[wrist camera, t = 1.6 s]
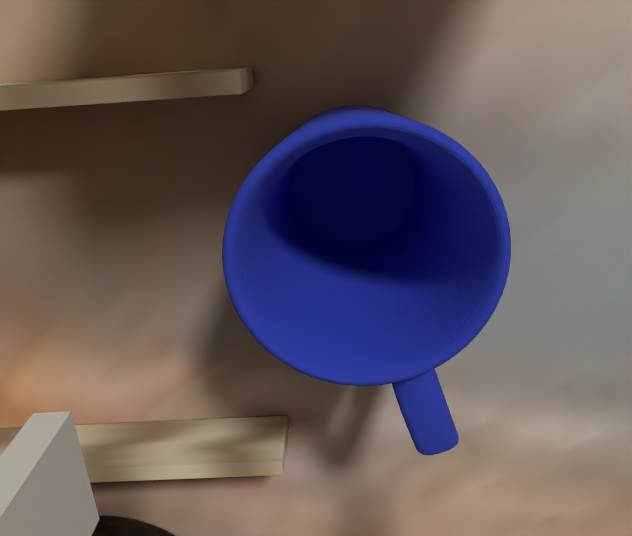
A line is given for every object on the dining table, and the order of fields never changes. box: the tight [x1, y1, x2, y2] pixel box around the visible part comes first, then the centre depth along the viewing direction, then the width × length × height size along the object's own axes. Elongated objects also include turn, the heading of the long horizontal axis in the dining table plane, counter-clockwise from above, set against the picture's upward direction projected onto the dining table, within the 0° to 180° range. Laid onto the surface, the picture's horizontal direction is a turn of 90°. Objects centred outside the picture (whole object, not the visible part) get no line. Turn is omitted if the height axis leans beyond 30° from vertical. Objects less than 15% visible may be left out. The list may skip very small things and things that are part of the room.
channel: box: [0, 66, 288, 483], centre depth 25 cm, size 17×18×6 cm
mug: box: [222, 106, 511, 455], centre depth 22 cm, size 8×12×10 cm
